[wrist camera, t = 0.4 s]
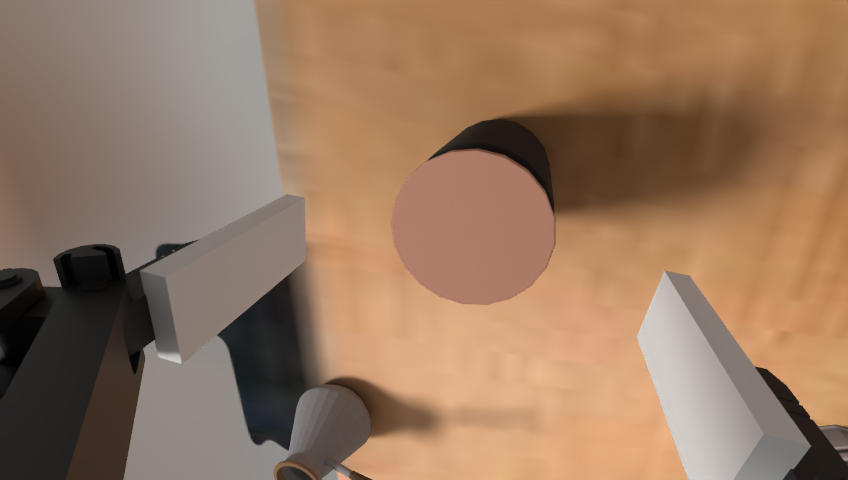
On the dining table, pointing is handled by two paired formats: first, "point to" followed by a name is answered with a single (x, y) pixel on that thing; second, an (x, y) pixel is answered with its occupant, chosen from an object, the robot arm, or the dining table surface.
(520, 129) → the coffee jar
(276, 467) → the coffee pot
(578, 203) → the dining table surface
